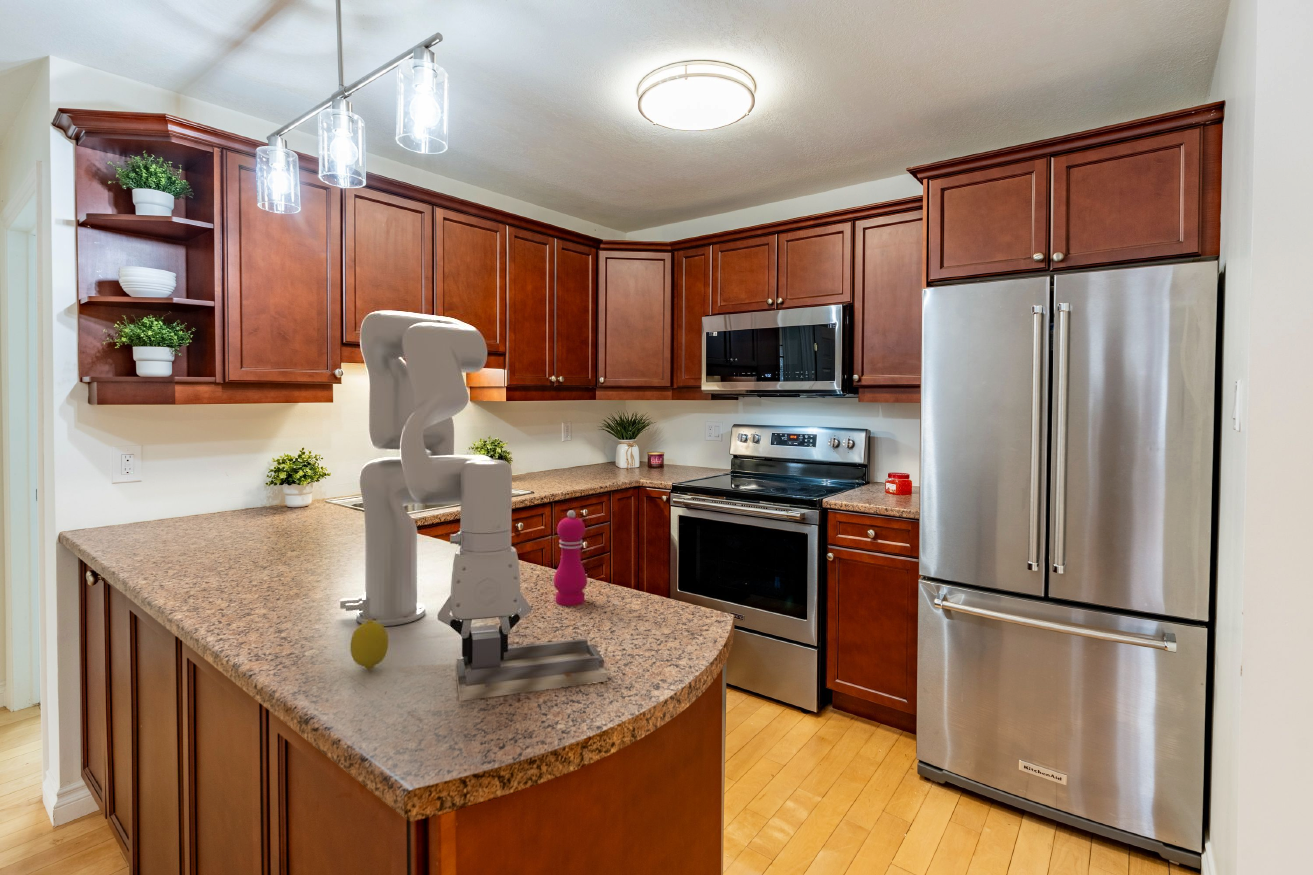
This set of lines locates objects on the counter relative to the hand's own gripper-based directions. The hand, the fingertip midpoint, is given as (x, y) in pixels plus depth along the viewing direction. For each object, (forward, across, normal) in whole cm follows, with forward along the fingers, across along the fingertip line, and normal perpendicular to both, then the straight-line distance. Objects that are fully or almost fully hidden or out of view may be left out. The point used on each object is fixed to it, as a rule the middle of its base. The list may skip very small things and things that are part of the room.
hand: (484, 657), depth 99 cm
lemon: (+4, -17, +10) cm, 20 cm away
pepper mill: (+4, +21, +36) cm, 42 cm away
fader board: (+4, +7, 0) cm, 8 cm away
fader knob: (+2, 0, 0) cm, 2 cm away
